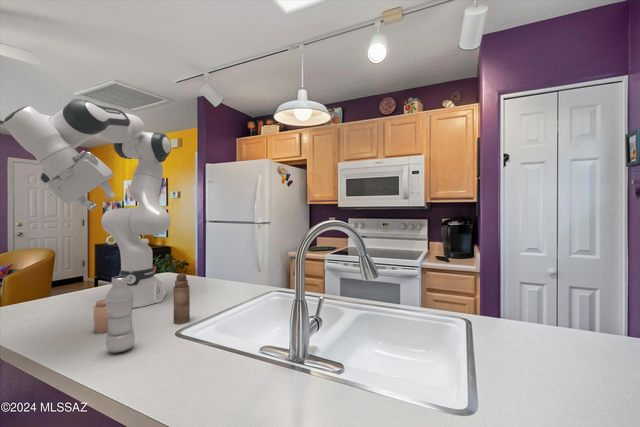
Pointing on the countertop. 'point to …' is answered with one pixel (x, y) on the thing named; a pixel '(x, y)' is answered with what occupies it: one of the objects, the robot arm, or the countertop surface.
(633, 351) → the countertop surface
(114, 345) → the plastic bottle
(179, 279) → the pepper mill
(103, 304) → the salt jar
